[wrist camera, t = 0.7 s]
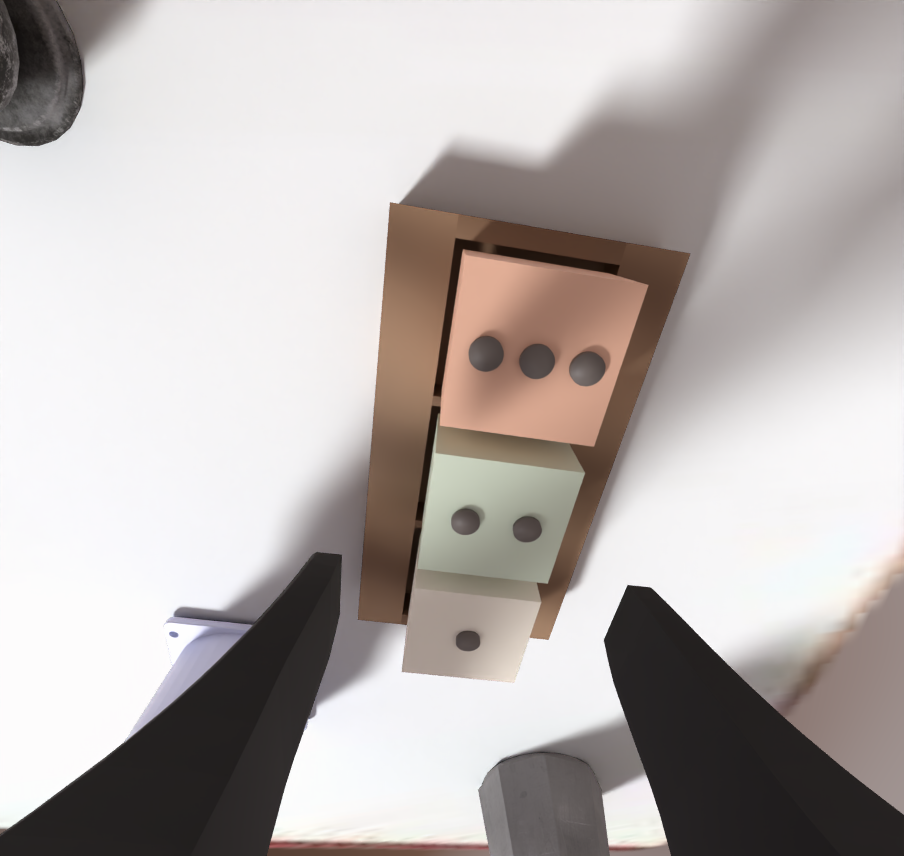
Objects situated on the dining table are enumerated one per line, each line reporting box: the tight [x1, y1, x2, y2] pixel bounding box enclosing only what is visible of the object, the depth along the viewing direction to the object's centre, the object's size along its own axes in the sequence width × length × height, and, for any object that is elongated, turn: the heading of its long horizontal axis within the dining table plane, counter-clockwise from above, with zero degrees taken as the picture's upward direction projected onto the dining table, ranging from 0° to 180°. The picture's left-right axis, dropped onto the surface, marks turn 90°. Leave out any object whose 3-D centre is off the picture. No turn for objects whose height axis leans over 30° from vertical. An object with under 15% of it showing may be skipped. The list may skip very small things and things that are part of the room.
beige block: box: [402, 533, 541, 683], centre depth 19 cm, size 5×5×3 cm
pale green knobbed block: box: [418, 413, 585, 584], centre depth 16 cm, size 5×5×3 cm
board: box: [358, 202, 690, 640], centre depth 19 cm, size 19×10×2 cm, turn 172°
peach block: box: [440, 249, 648, 447], centre depth 14 cm, size 5×5×3 cm
